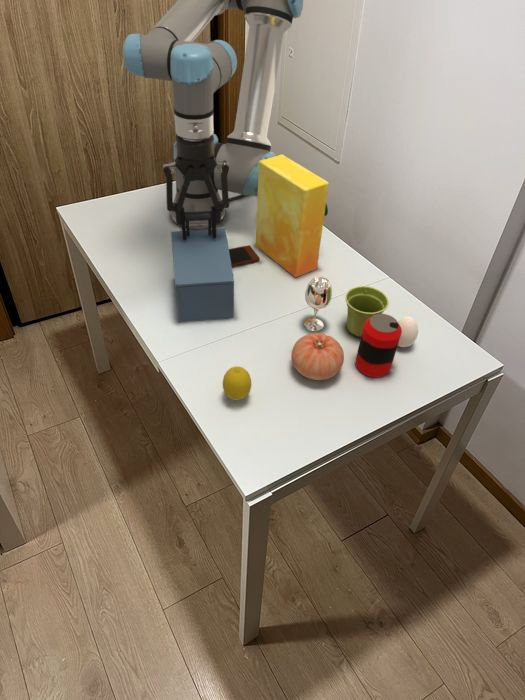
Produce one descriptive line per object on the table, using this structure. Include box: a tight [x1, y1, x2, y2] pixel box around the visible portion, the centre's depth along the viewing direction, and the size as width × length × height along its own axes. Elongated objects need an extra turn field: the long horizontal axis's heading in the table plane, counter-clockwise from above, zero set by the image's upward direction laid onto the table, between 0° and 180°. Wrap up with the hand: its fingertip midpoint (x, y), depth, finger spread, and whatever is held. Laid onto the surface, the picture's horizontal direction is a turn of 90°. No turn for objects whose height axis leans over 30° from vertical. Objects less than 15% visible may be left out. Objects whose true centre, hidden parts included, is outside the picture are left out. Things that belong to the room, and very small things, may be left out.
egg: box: [397, 316, 419, 348], centre depth 116 cm, size 5×5×8 cm
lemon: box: [222, 366, 252, 401], centre depth 103 cm, size 6×6×8 cm
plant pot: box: [344, 285, 390, 338], centre depth 119 cm, size 9×9×9 cm
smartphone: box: [229, 245, 261, 268], centre depth 139 cm, size 7×1×15 cm
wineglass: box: [303, 275, 333, 332], centre depth 118 cm, size 6×6×12 cm
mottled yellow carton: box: [255, 154, 330, 278], centre depth 134 cm, size 18×12×24 cm
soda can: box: [355, 313, 402, 378], centre depth 109 cm, size 8×8×12 cm
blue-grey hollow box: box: [175, 282, 235, 323], centre depth 124 cm, size 16×13×10 cm
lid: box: [170, 211, 235, 288], centre depth 117 cm, size 16×13×7 cm
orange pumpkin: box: [290, 332, 345, 381], centre depth 109 cm, size 11×11×8 cm
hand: (199, 235), depth 121 cm, fingers closed on lid, 6 cm apart
